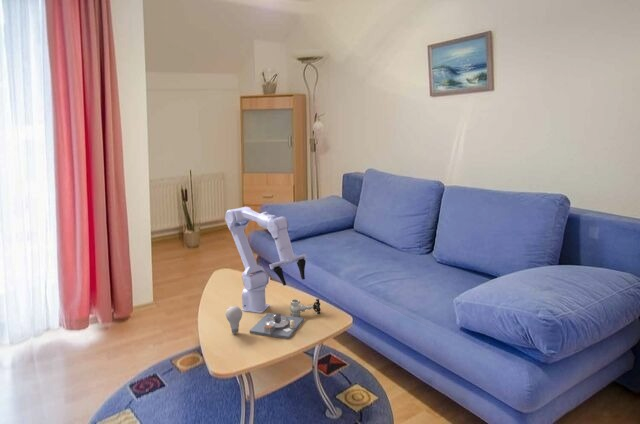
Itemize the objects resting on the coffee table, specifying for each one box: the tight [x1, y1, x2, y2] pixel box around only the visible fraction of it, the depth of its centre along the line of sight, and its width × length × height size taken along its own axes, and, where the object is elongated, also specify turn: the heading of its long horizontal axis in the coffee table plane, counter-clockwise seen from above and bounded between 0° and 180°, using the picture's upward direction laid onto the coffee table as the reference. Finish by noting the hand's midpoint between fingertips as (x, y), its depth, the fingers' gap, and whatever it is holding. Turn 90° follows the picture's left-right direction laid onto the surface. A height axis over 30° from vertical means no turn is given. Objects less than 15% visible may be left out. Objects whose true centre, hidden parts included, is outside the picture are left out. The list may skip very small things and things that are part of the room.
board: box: [249, 313, 305, 340], centre depth 176 cm, size 16×16×4 cm
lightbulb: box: [225, 305, 243, 335], centre depth 170 cm, size 6×6×11 cm
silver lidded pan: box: [264, 312, 289, 334], centre depth 174 cm, size 14×9×4 cm, turn 161°
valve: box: [289, 298, 322, 317], centre depth 186 cm, size 7×7×12 cm
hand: (294, 282), depth 174 cm, fingers open, 7 cm apart
